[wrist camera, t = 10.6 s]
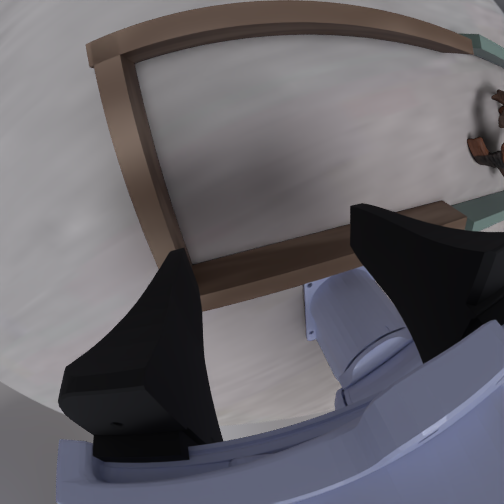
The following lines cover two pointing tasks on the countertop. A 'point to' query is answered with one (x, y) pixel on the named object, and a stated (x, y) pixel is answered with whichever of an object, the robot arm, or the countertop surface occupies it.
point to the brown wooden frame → (147, 164)
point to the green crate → (497, 204)
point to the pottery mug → (479, 150)
